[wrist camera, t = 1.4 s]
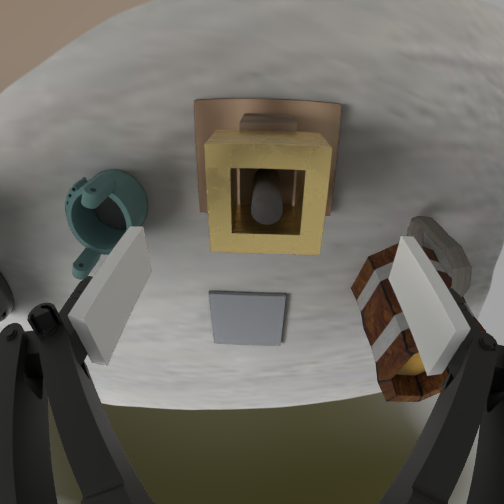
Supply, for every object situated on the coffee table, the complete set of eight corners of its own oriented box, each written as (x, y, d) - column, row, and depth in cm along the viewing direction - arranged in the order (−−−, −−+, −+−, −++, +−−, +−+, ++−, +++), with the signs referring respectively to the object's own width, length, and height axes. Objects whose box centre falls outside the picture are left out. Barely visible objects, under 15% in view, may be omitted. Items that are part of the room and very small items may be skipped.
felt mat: (214, 340, 46) (214, 343, 45) (209, 290, 40) (208, 293, 40) (280, 342, 46) (280, 345, 45) (285, 293, 40) (285, 296, 40)
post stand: (202, 207, 34) (171, 281, 23) (196, 99, 27) (150, 119, 16) (328, 211, 34) (356, 286, 22) (338, 103, 27) (386, 126, 16)
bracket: (131, 156, 31) (91, 185, 23) (159, 227, 36) (132, 271, 28) (73, 179, 32) (30, 211, 25) (102, 242, 37) (69, 283, 30)
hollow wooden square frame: (219, 220, 27) (210, 251, 23) (216, 130, 23) (204, 144, 18) (311, 223, 27) (319, 254, 22) (319, 133, 22) (332, 147, 18)
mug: (428, 311, 42) (462, 389, 29) (347, 323, 43) (366, 412, 30) (455, 193, 31) (527, 263, 18) (355, 197, 32) (404, 281, 20)
